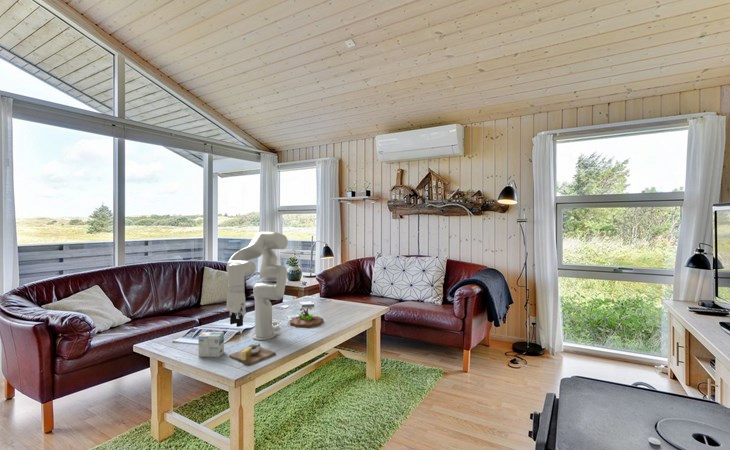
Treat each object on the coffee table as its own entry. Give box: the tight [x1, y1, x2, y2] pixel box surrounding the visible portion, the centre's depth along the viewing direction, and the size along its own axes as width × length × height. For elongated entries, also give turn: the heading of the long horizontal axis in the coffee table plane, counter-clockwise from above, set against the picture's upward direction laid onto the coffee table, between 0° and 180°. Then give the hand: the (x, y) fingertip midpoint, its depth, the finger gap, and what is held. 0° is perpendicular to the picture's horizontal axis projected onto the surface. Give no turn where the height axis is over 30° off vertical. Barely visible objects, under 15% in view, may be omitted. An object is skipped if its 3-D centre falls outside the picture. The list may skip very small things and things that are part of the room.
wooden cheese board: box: [229, 343, 277, 366], centre depth 184 cm, size 16×16×5 cm
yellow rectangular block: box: [241, 342, 261, 360], centre depth 183 cm, size 15×6×4 cm, turn 169°
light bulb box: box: [197, 331, 225, 358], centre depth 185 cm, size 11×7×11 cm, turn 92°
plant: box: [289, 306, 324, 329], centre depth 238 cm, size 20×20×11 cm
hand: (236, 324), depth 179 cm, fingers open, 4 cm apart
